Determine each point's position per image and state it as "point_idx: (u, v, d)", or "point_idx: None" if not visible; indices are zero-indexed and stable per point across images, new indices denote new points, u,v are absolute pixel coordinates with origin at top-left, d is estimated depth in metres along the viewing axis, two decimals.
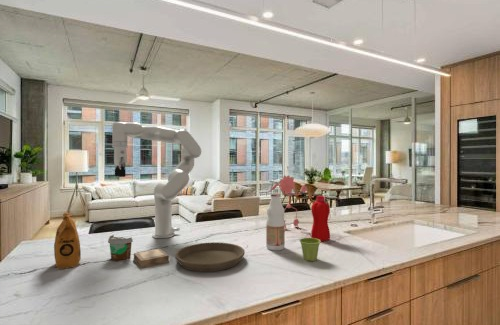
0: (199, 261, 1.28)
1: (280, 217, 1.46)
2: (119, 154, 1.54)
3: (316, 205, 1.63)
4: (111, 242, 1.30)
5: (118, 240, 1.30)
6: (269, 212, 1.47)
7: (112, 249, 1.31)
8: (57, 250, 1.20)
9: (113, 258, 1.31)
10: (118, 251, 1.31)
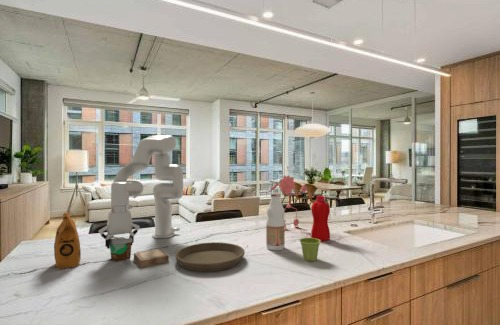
0: (199, 261, 1.28)
1: (280, 217, 1.46)
2: (131, 219, 1.35)
3: (316, 205, 1.63)
4: (111, 242, 1.30)
5: (118, 240, 1.30)
6: (269, 212, 1.47)
7: (112, 249, 1.31)
8: (57, 250, 1.20)
9: (113, 258, 1.31)
10: (118, 251, 1.31)
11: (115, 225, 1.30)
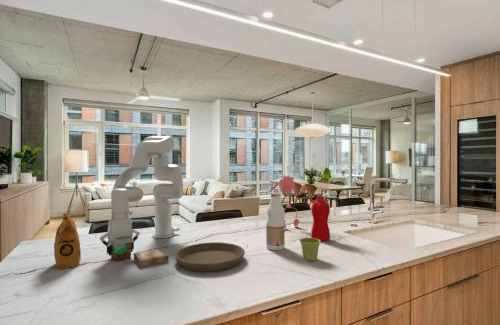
0: (199, 261, 1.28)
1: (280, 217, 1.46)
2: None
3: (316, 205, 1.63)
4: None
5: (118, 240, 1.30)
6: (269, 212, 1.47)
7: (112, 249, 1.31)
8: (57, 250, 1.20)
9: (113, 258, 1.31)
10: (118, 251, 1.31)
11: (116, 232, 1.30)
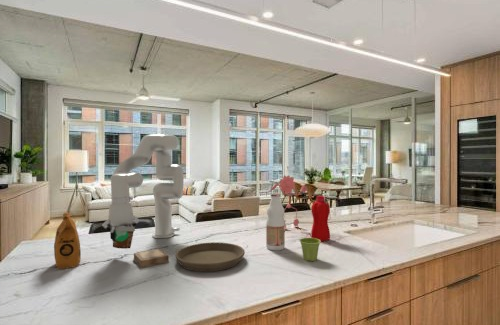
0: (199, 261, 1.28)
1: (280, 217, 1.46)
2: (132, 211, 1.36)
3: (316, 205, 1.63)
4: None
5: (121, 227, 1.31)
6: (269, 212, 1.47)
7: None
8: (57, 250, 1.20)
9: (114, 244, 1.32)
10: (119, 238, 1.31)
11: (116, 217, 1.31)
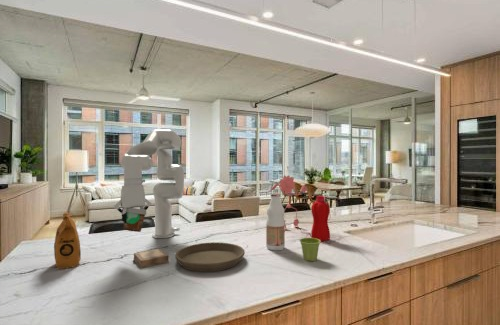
0: (199, 261, 1.28)
1: (280, 217, 1.46)
2: (144, 193, 1.34)
3: (316, 205, 1.63)
4: (126, 210, 1.30)
5: (132, 209, 1.29)
6: (269, 212, 1.47)
7: None
8: (57, 250, 1.20)
9: (124, 227, 1.30)
10: (130, 220, 1.29)
11: (128, 198, 1.29)
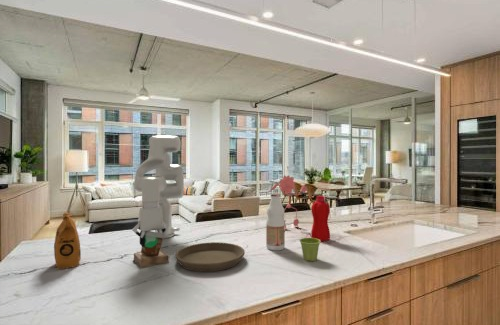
0: (199, 261, 1.28)
1: (280, 217, 1.46)
2: (162, 215, 1.32)
3: (316, 205, 1.63)
4: None
5: (150, 232, 1.28)
6: (269, 212, 1.47)
7: None
8: (57, 250, 1.20)
9: (142, 250, 1.28)
10: (148, 244, 1.27)
11: (147, 221, 1.27)
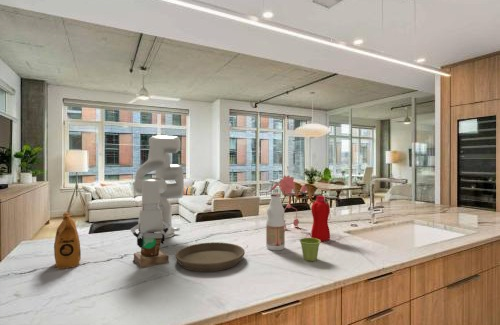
0: (199, 261, 1.28)
1: (280, 217, 1.46)
2: None
3: (316, 205, 1.63)
4: (142, 235, 1.28)
5: (148, 233, 1.27)
6: (269, 212, 1.47)
7: (142, 242, 1.28)
8: (57, 250, 1.20)
9: (142, 252, 1.28)
10: (147, 245, 1.27)
11: (147, 223, 1.28)
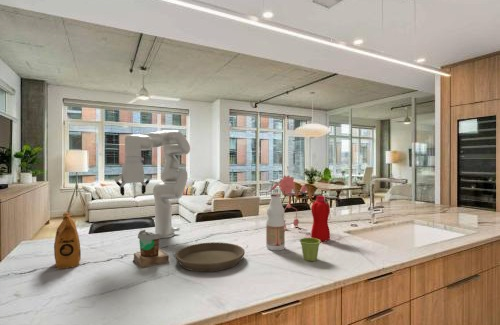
0: (199, 261, 1.28)
1: (280, 217, 1.46)
2: (143, 170, 1.46)
3: (316, 205, 1.63)
4: (139, 237, 1.27)
5: (145, 235, 1.26)
6: (269, 212, 1.47)
7: (140, 244, 1.28)
8: (57, 250, 1.20)
9: (141, 253, 1.28)
10: (145, 247, 1.26)
11: (129, 174, 1.41)
